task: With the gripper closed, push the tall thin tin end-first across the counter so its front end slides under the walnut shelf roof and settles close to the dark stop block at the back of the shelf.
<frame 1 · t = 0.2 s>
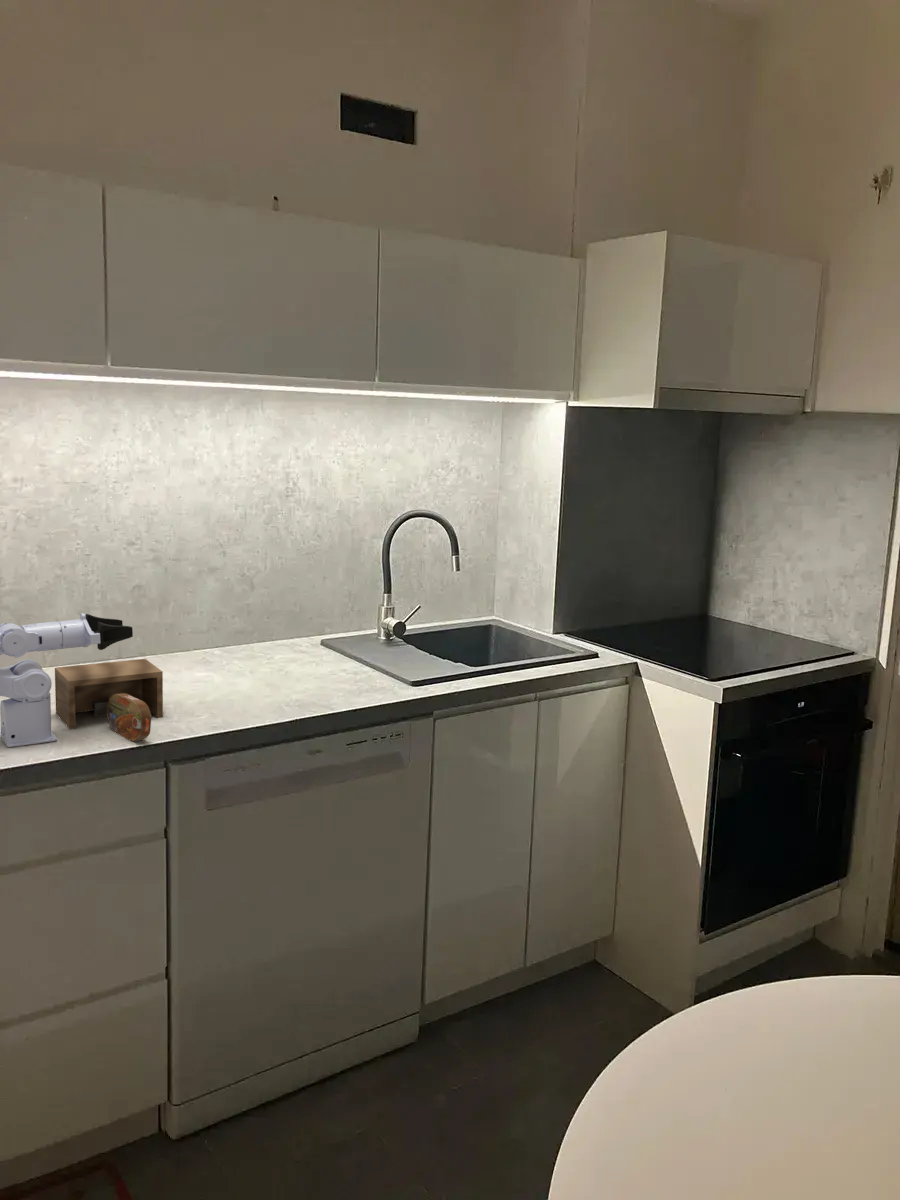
hand: (127, 628, 213), 22 cm above the table, tool horizontal, fingers open, 7 cm apart
shelf: (109, 715, 224), on the table
tin: (129, 736, 212), on the table
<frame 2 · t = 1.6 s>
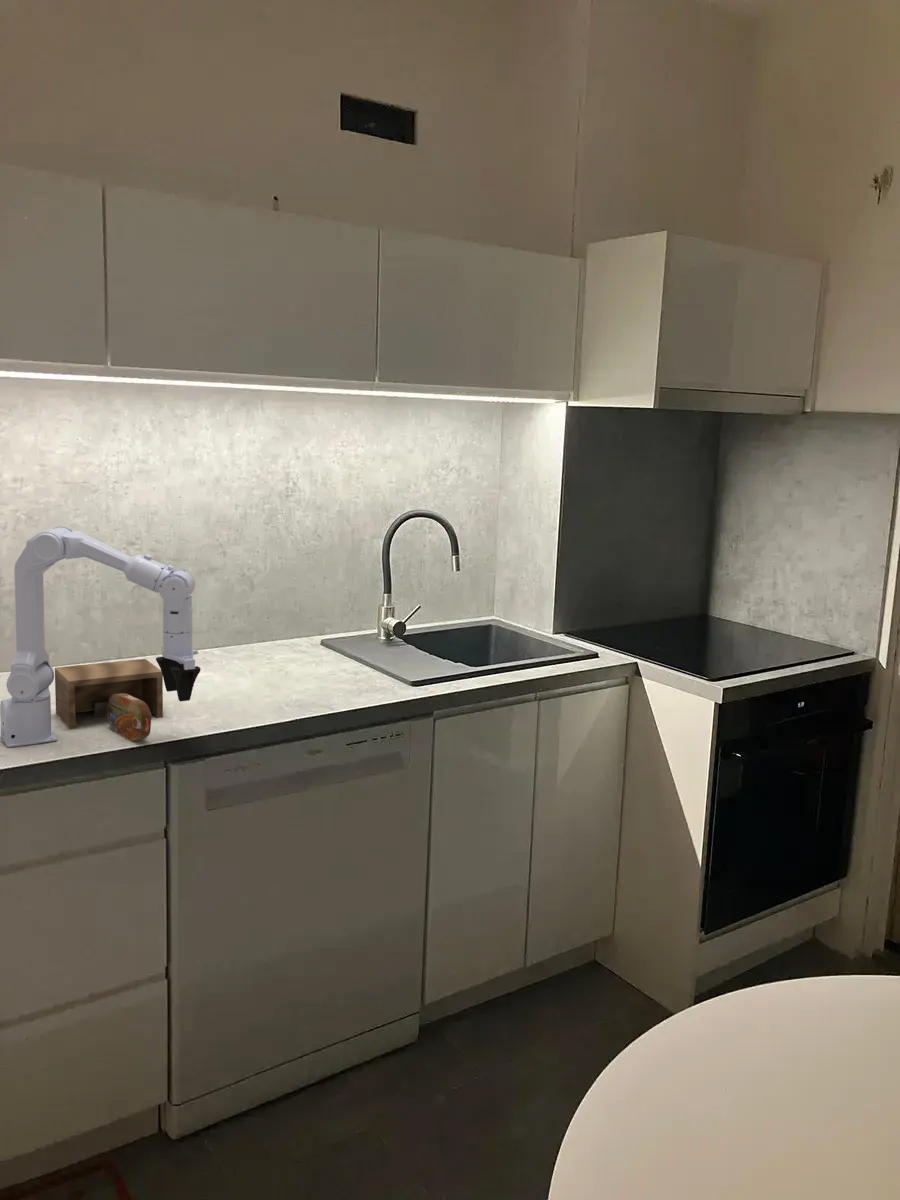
hand: (178, 695, 206), 10 cm above the table, tool pointing down, fingers open, 7 cm apart
nothing on the table moved.
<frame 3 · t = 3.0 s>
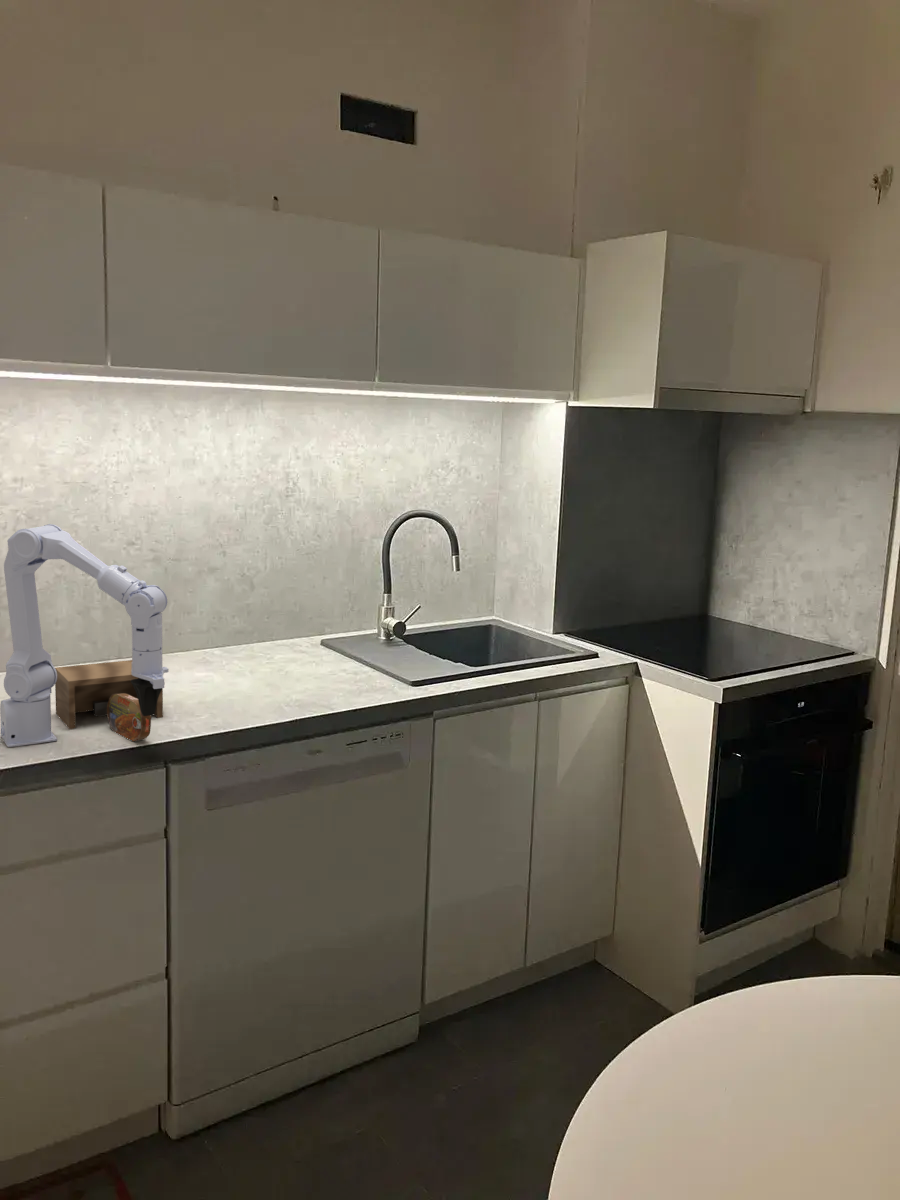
hand: (148, 714, 201), 8 cm above the table, tool pointing down, fingers closed
nothing on the table moved.
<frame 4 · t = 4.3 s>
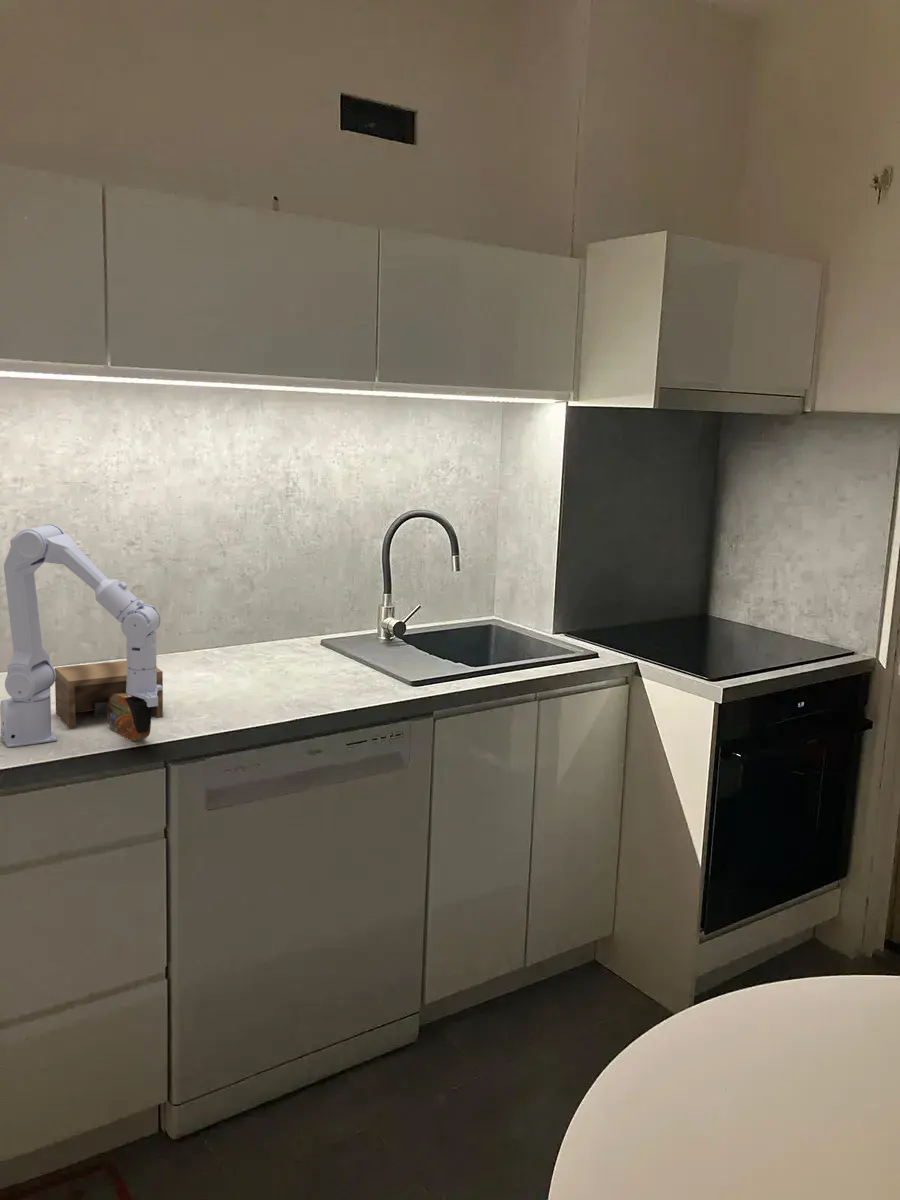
hand: (142, 731, 204), 3 cm above the table, tool pointing down, fingers closed
tin: (129, 736, 212), on the table, touching gripper
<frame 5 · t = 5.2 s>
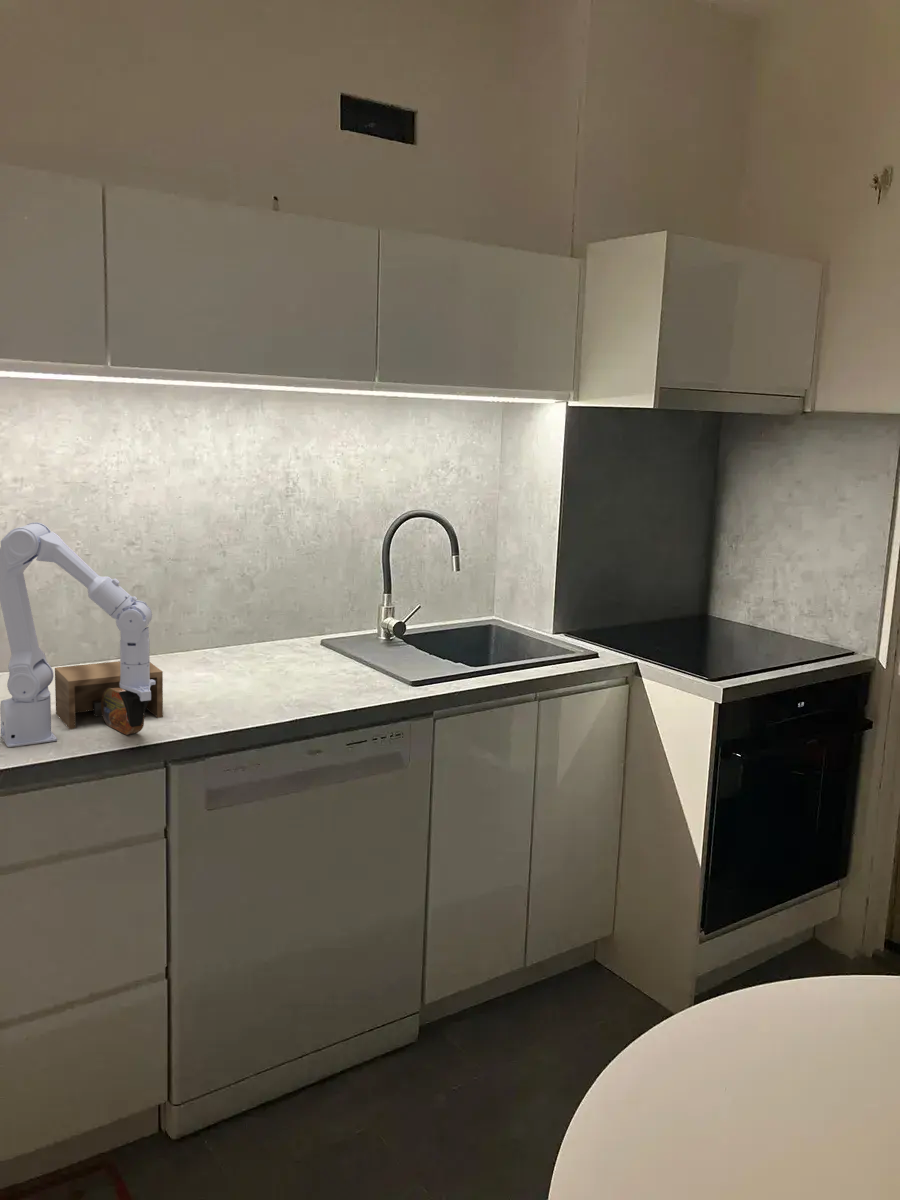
hand: (135, 725, 208), 3 cm above the table, tool pointing down, fingers closed
tin: (123, 730, 216), on the table, touching gripper
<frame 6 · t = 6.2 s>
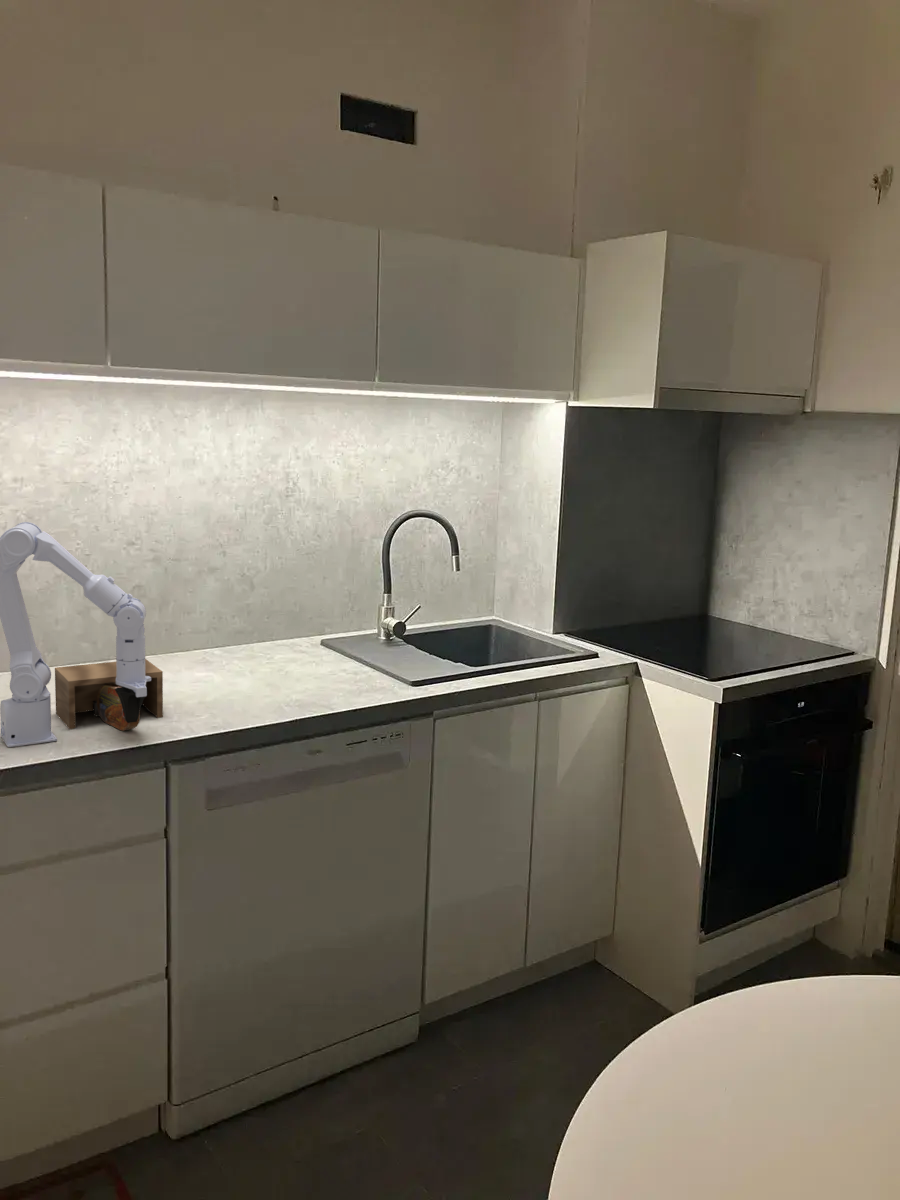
hand: (131, 721, 210), 3 cm above the table, tool pointing down, fingers closed
tin: (119, 726, 218), on the table, touching gripper
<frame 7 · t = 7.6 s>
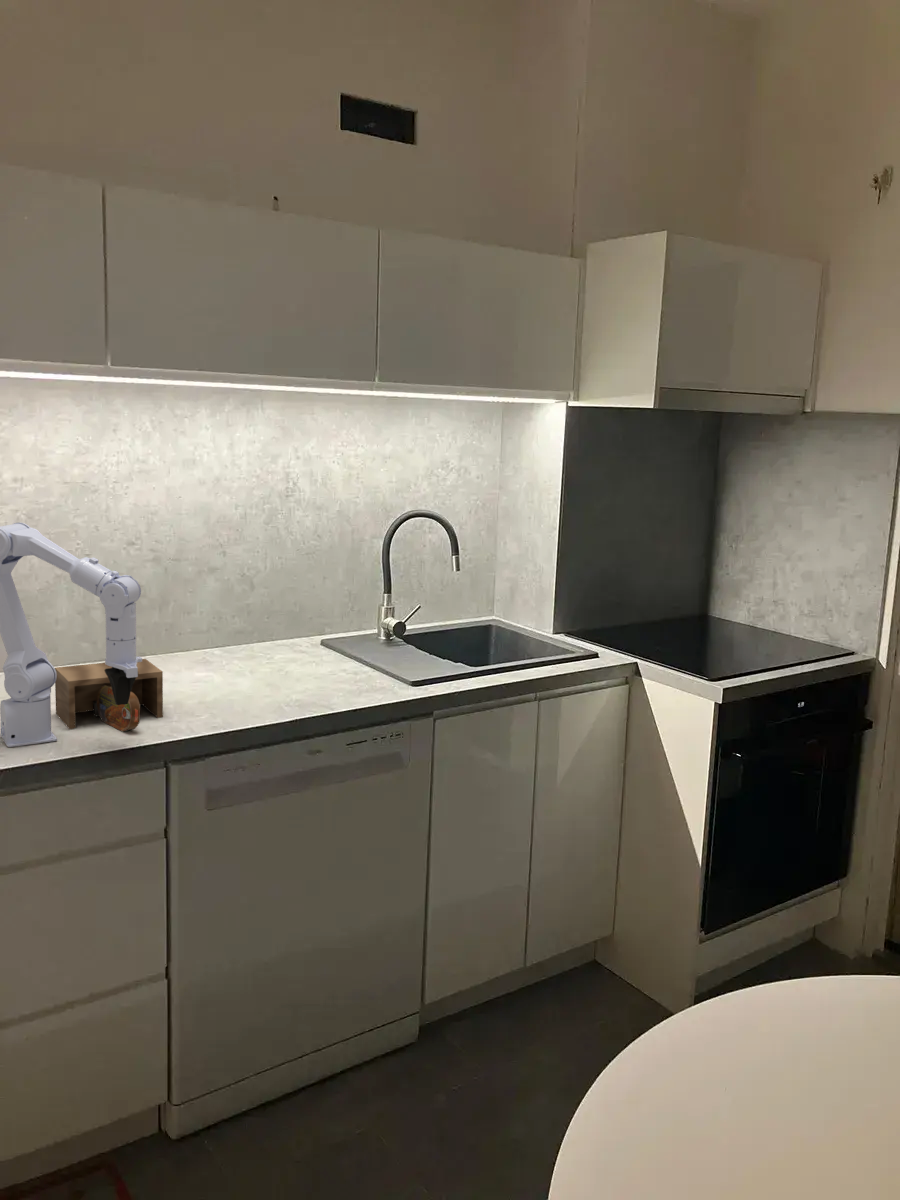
hand: (121, 703, 203), 9 cm above the table, tool pointing down, fingers closed
tin: (119, 726, 218), on the table
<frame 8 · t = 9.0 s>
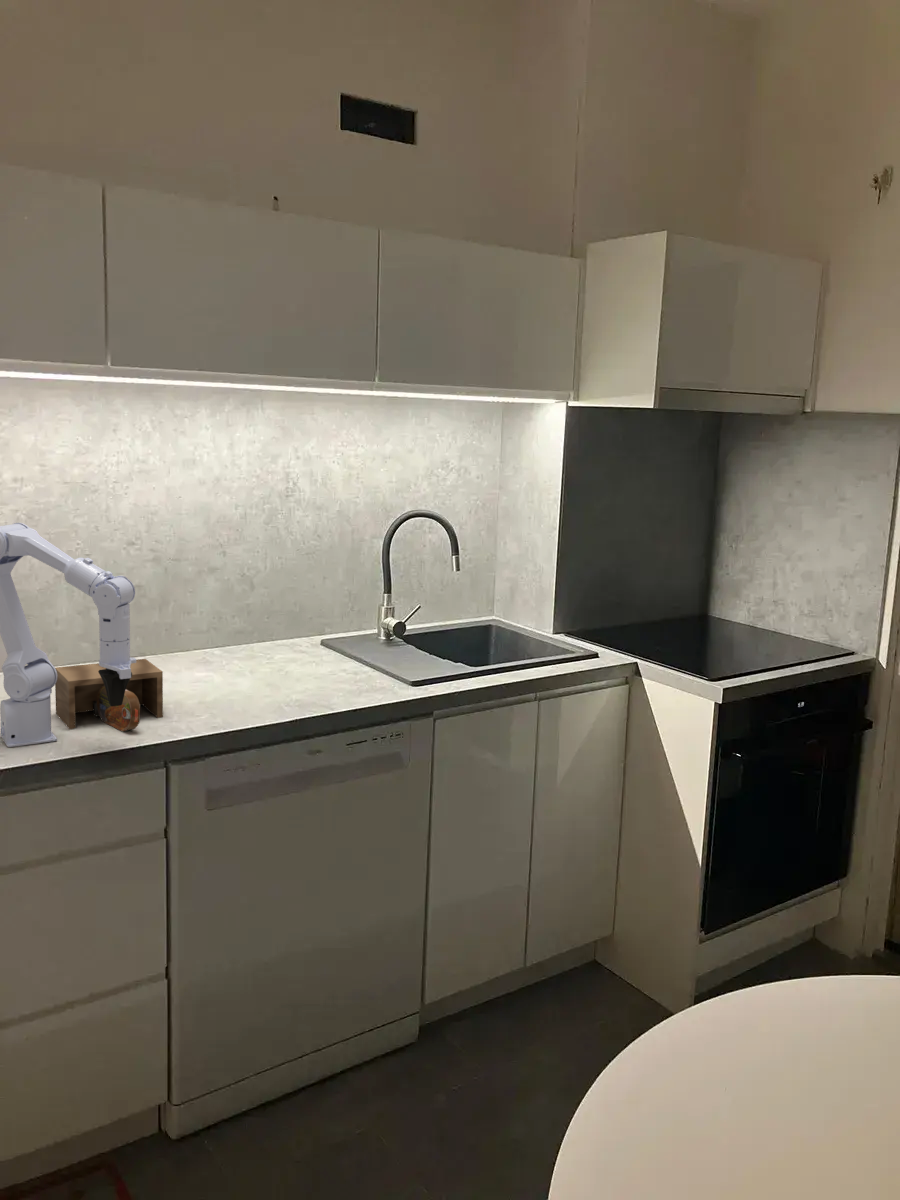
hand: (115, 705, 201), 9 cm above the table, tool pointing down, fingers closed
nothing on the table moved.
at the end: tin 0.7 cm from the target spot, on the table; tin tilted 0°; tin moved 7.2 cm from its start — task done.
